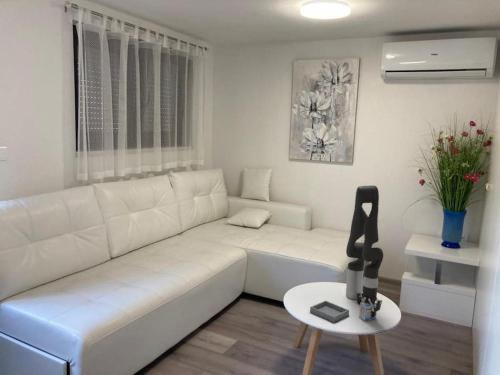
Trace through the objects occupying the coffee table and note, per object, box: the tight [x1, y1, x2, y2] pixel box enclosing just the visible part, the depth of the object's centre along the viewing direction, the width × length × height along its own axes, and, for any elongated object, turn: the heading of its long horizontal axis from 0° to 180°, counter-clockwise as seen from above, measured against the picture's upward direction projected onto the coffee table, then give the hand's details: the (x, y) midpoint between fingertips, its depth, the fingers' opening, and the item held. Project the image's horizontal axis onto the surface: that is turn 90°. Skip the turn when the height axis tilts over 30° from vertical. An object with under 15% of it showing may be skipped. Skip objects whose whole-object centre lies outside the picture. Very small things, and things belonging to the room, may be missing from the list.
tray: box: [309, 300, 350, 324], centre depth 216 cm, size 14×16×3 cm
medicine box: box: [358, 301, 378, 322], centre depth 212 cm, size 8×4×9 cm, turn 114°
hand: (367, 315), depth 213 cm, fingers closed on medicine box, 5 cm apart
